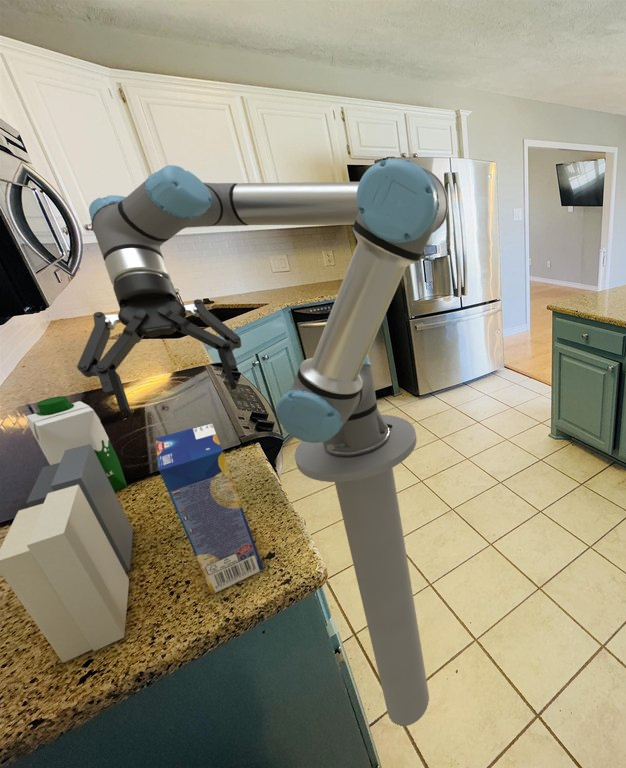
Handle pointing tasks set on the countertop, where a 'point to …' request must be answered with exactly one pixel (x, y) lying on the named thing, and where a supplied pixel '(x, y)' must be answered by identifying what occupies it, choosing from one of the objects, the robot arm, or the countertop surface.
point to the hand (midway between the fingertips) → (183, 398)
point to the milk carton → (74, 434)
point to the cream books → (66, 574)
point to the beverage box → (208, 505)
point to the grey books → (89, 496)
